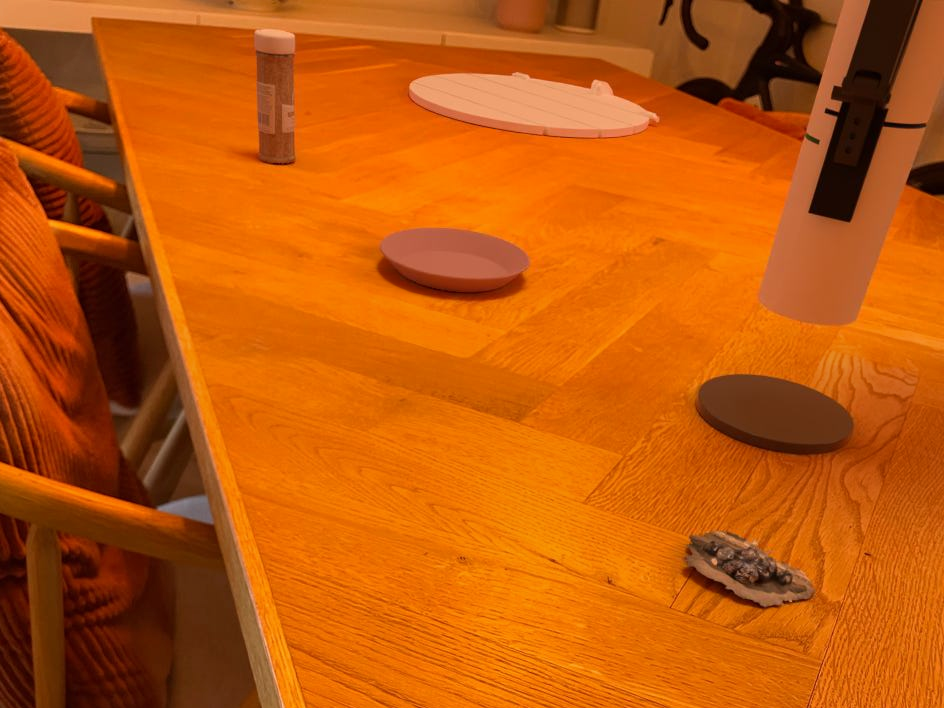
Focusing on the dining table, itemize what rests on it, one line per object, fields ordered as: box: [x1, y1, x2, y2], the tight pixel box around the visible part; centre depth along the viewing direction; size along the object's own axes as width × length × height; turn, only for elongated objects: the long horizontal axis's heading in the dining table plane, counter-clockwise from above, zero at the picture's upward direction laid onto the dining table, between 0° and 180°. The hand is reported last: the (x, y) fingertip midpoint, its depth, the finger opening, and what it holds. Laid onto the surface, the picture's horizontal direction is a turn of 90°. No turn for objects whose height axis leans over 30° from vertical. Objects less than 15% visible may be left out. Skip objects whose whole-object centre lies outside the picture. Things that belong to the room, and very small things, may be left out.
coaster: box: [695, 373, 855, 455], centre depth 76 cm, size 12×12×1 cm
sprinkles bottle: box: [253, 28, 297, 165], centre depth 116 cm, size 5×5×14 cm
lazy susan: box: [408, 71, 661, 139], centre depth 160 cm, size 40×39×3 cm
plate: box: [379, 227, 531, 293], centre depth 94 cm, size 14×14×2 cm
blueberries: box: [682, 530, 817, 608], centre depth 58 cm, size 7×8×2 cm
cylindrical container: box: [757, 0, 944, 327], centre depth 64 cm, size 7×7×25 cm
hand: (840, 203), depth 67 cm, fingers closed on cylindrical container, 7 cm apart
